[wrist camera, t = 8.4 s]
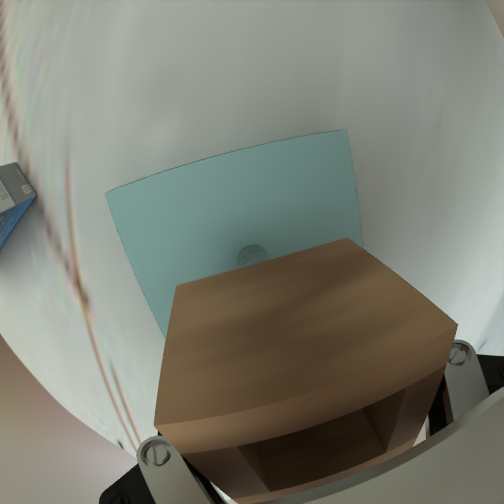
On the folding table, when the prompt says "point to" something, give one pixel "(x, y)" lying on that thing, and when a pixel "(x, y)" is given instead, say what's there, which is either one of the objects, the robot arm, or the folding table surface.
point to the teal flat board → (235, 211)
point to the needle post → (252, 255)
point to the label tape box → (13, 198)
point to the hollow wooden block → (299, 370)
